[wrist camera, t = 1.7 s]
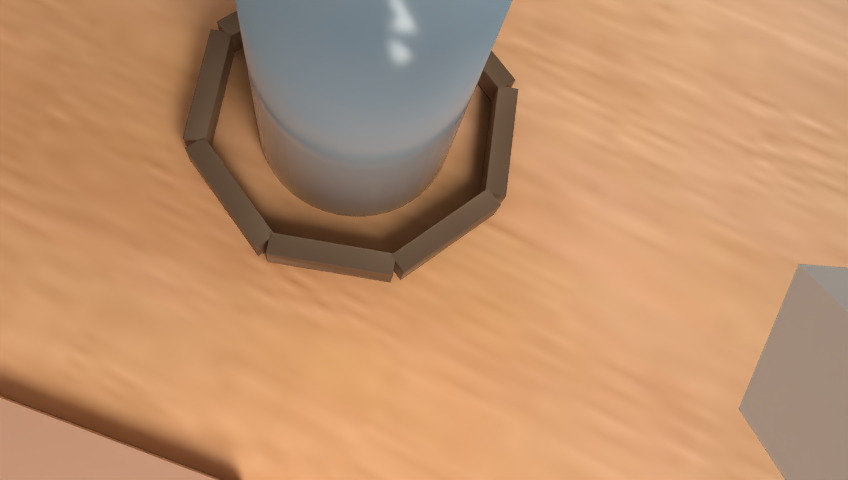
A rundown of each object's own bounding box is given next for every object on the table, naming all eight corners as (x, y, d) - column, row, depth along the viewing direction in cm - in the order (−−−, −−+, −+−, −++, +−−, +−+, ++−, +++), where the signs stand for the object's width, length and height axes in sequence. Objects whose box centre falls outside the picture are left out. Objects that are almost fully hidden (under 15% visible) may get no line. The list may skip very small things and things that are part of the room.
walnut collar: (564, 164, 31) (574, 153, 30) (317, 338, 28) (316, 333, 26) (389, -54, 33) (391, -73, 32) (136, 84, 29) (129, 69, 28)
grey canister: (447, 223, 30) (529, 73, 18) (249, 208, 29) (204, 41, 17) (453, 5, 32) (527, -244, 21) (273, -15, 31) (247, -286, 20)
